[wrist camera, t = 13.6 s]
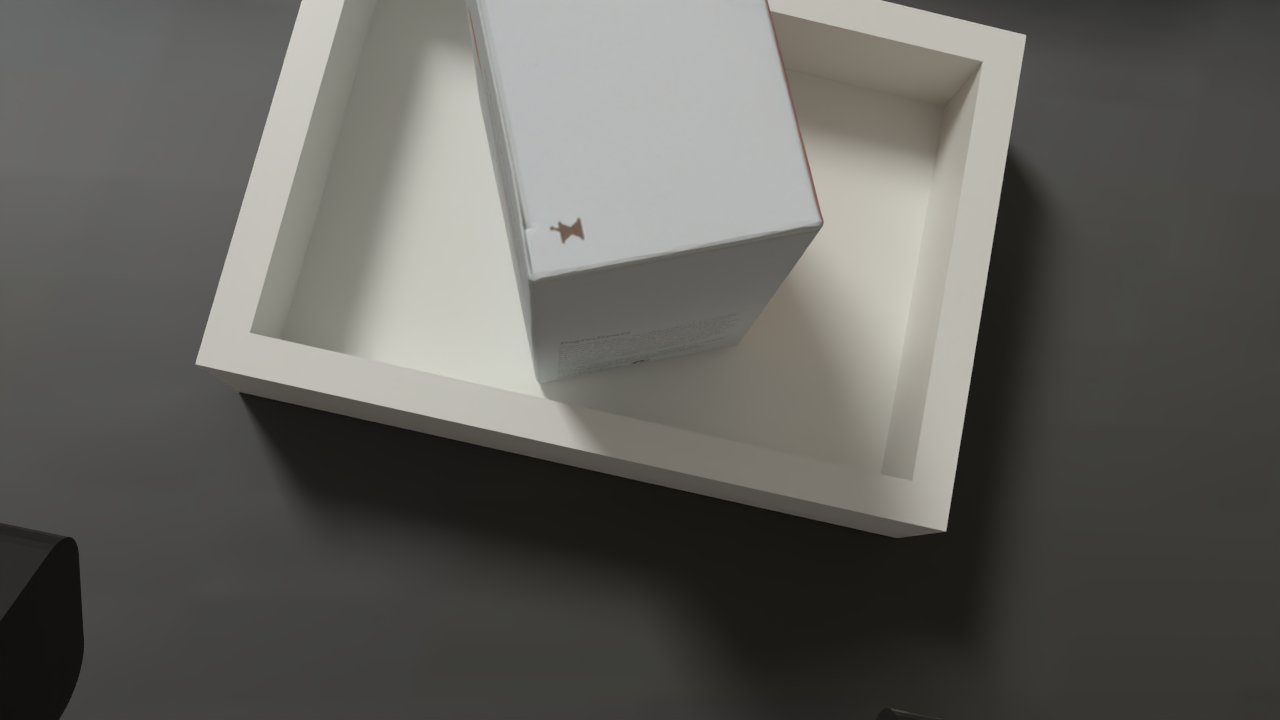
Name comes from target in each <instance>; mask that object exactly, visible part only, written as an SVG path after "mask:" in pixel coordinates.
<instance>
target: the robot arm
mask: <svg viewBox="0 0 1280 720" xmlns="http://www.w3.org/2000/svg"><path fill="white" fill-rule="evenodd" d="M83 652H84V635H83V619H82V602H81V585H80V568H79V553H78V547H77V544H76V542H75V540H74V539H73V538H71V537H66V536H61V535H56V534H51V533H47V532H42V531H37V530H32V529H27V528H22V527H17V526H12V525H8V524H3V523H0V720H59V719H60V717H61V715H62V714H63V712H64V710H65V708H66V707H67V705H68V703H69V700H70V698H71V696H72V694H73V691H74V689H75V686H76V683H77V680H78V677H79V673H80V669H81V665H82V659H83ZM876 720H946V719H941V718H936V717H931V716H926V715H921V714H916V713H911V712H906V711H902V710H897V709H892V708H885V709H883V710H882V711H881V712H880V714H879V715H878V717H877V719H876Z"/></svg>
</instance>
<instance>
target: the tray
mask: <svg viewBox="0 0 1280 720" xmlns="http://www.w3.org/2000/svg"><path fill="white" fill-rule="evenodd" d="M768 4H769V8H770V12H771V16H772V20H773V24H774V28H775V32H776V36H777V40H778V44H779V48H780V52H781V56H782V60H783V64H784V68H785V72H786V75H787V79H788V84H789V88H790V92H791V96H792V100H793V104H794V108H795V111H796V115H797V120H798V124H799V128H800V132H801V135H802V139H803V143H804V147H805V151H806V155H807V158H808V162H809V166H810V170H811V174H812V178H813V182H814V186H815V190H816V194H817V198H818V202H819V207H820V211H821V214H822V217H823V221H824V224H823V227H822V228H821V229H820V231H819V232H818V234H817V235H816V236H815V238H814V239H813V241H812V242H811V244H810V245H809V246H808V248H807V249H806V250H805V252H804V254H803V255H802V256H801V258H800V259H799V261H798V262H797V263H796V265H795V266H794V268H793V269H792V270H791V272H790V273H789V275H788V276H787V277H786V279H785V280H784V281H783V283H782V284H781V286H780V287H779V288H778V290H777V291H776V293H775V294H774V296H773V297H772V298H771V300H770V301H769V302H768V304H767V305H766V306H765V308H764V309H763V311H762V313H761V314H760V315H759V317H758V318H757V319H756V320H755V322H754V323H753V325H752V326H751V328H750V329H749V330H748V332H747V333H746V334H745V336H744V337H743V338H742V340H741V341H740V343H739V344H737V345H735V346H730V347H724V348H719V349H714V350H709V351H704V352H699V353H694V354H689V355H684V356H679V357H674V358H669V359H663V360H658V361H653V362H648V363H642V364H637V365H632V366H626V367H621V368H616V369H611V370H606V371H601V372H595V373H590V374H585V375H580V376H574V377H569V378H564V379H559V380H554V381H549V382H545V383H538V382H537V380H536V377H535V373H534V368H533V363H532V358H531V353H530V348H529V343H528V338H527V333H526V328H525V323H524V318H523V314H522V309H521V304H520V299H519V294H518V289H517V284H516V279H515V274H514V269H513V263H512V258H511V253H510V248H509V243H508V238H507V233H506V228H505V223H504V218H503V213H502V208H501V204H500V199H499V194H498V189H497V184H496V179H495V174H494V170H493V165H492V160H491V155H490V150H489V144H488V139H487V135H486V130H485V125H484V120H483V116H482V111H481V106H480V100H479V93H478V86H477V79H476V72H475V64H474V56H473V49H472V42H471V35H470V28H469V21H468V15H467V8H466V1H465V0H302V2H301V6H300V9H299V13H298V16H297V19H296V23H295V26H294V30H293V33H292V36H291V40H290V43H289V47H288V50H287V53H286V57H285V60H284V64H283V67H282V70H281V74H280V77H279V81H278V84H277V88H276V91H275V94H274V98H273V101H272V105H271V108H270V111H269V115H268V118H267V122H266V125H265V128H264V132H263V135H262V139H261V142H260V145H259V149H258V152H257V156H256V159H255V163H254V166H253V169H252V173H251V176H250V180H249V183H248V186H247V190H246V193H245V197H244V200H243V203H242V207H241V210H240V214H239V217H238V220H237V224H236V227H235V231H234V234H233V237H232V241H231V244H230V248H229V251H228V255H227V258H226V261H225V265H224V268H223V272H222V275H221V278H220V282H219V285H218V289H217V292H216V295H215V299H214V302H213V306H212V309H211V312H210V316H209V319H208V323H207V326H206V330H205V333H204V336H203V340H202V343H201V347H200V350H199V353H198V357H197V360H196V365H197V366H199V367H200V368H202V369H203V370H205V371H207V372H208V373H210V374H211V375H213V376H214V377H216V378H217V379H219V380H221V381H222V382H224V383H225V384H227V385H228V386H230V387H231V388H233V389H235V390H236V391H238V392H242V393H247V394H251V395H256V396H260V397H265V398H269V399H274V400H278V401H283V402H287V403H292V404H296V405H301V406H305V407H310V408H314V409H319V410H323V411H328V412H332V413H336V414H341V415H345V416H350V417H354V418H359V419H363V420H368V421H372V422H377V423H381V424H386V425H390V426H395V427H399V428H404V429H408V430H413V431H417V432H422V433H426V434H431V435H435V436H440V437H444V438H449V439H453V440H458V441H462V442H467V443H471V444H476V445H480V446H485V447H489V448H494V449H498V450H503V451H507V452H512V453H516V454H521V455H525V456H530V457H534V458H539V459H543V460H548V461H552V462H557V463H561V464H566V465H570V466H575V467H579V468H584V469H588V470H593V471H597V472H602V473H606V474H611V475H615V476H620V477H624V478H629V479H633V480H638V481H642V482H647V483H651V484H656V485H660V486H665V487H669V488H674V489H678V490H683V491H687V492H692V493H696V494H701V495H705V496H710V497H714V498H719V499H723V500H728V501H732V502H737V503H741V504H746V505H750V506H755V507H759V508H764V509H768V510H773V511H777V512H782V513H786V514H791V515H795V516H800V517H804V518H809V519H813V520H818V521H822V522H827V523H831V524H836V525H840V526H845V527H849V528H854V529H858V530H863V531H867V532H872V533H876V534H881V535H885V536H890V537H894V538H902V537H910V536H917V535H924V534H932V533H939V532H946V529H947V523H948V517H949V510H950V504H951V498H952V492H953V486H954V479H955V473H956V467H957V461H958V455H959V448H960V442H961V436H962V430H963V424H964V417H965V411H966V405H967V399H968V393H969V386H970V380H971V374H972V368H973V362H974V356H975V349H976V343H977V337H978V331H979V325H980V318H981V312H982V306H983V300H984V294H985V287H986V281H987V275H988V269H989V263H990V256H991V250H992V244H993V238H994V232H995V225H996V219H997V213H998V207H999V201H1000V194H1001V188H1002V182H1003V176H1004V170H1005V164H1006V157H1007V151H1008V145H1009V139H1010V133H1011V126H1012V120H1013V114H1014V108H1015V102H1016V95H1017V89H1018V83H1019V77H1020V71H1021V64H1022V58H1023V52H1024V46H1025V40H1026V35H1023V34H1019V33H1015V32H1011V31H1006V30H1002V29H998V28H994V27H990V26H986V25H981V24H977V23H973V22H969V21H965V20H961V19H956V18H952V17H948V16H944V15H940V14H936V13H931V12H927V11H923V10H919V9H915V8H911V7H906V6H902V5H898V4H894V3H890V2H886V1H881V0H768Z"/></svg>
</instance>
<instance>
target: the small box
mask: <svg viewBox="0 0 1280 720" xmlns="http://www.w3.org/2000/svg"><path fill="white" fill-rule="evenodd" d="M465 1H466V8H467V15H468V21H469V28H470V35H471V42H472V49H473V56H474V64H475V72H476V79H477V86H478V93H479V100H480V106H481V111H482V116H483V120H484V125H485V130H486V135H487V139H488V144H489V150H490V155H491V160H492V165H493V170H494V174H495V179H496V184H497V189H498V194H499V199H500V204H501V208H502V213H503V218H504V223H505V228H506V233H507V238H508V243H509V248H510V253H511V258H512V263H513V269H514V274H515V279H516V284H517V289H518V294H519V299H520V304H521V309H522V314H523V318H524V323H525V328H526V333H527V338H528V343H529V348H530V353H531V358H532V363H533V368H534V373H535V377H536V380H537V382H538V383H545V382H549V381H554V380H559V379H564V378H569V377H574V376H580V375H585V374H590V373H595V372H601V371H606V370H611V369H616V368H621V367H626V366H632V365H637V364H642V363H648V362H653V361H658V360H663V359H669V358H674V357H679V356H684V355H689V354H694V353H699V352H704V351H709V350H714V349H719V348H724V347H730V346H735V345H737V344H739V343H740V341H741V340H742V338H743V337H744V336H745V334H746V333H747V332H748V330H749V329H750V328H751V326H752V325H753V323H754V322H755V320H756V319H757V318H758V317H759V315H760V314H761V313H762V311H763V309H764V308H765V306H766V305H767V304H768V302H769V301H770V300H771V298H772V297H773V296H774V294H775V293H776V291H777V290H778V288H779V287H780V286H781V284H782V283H783V281H784V280H785V279H786V277H787V276H788V275H789V273H790V272H791V270H792V269H793V268H794V266H795V265H796V263H797V262H798V261H799V259H800V258H801V256H802V255H803V254H804V252H805V250H806V249H807V248H808V246H809V245H810V244H811V242H812V241H813V239H814V238H815V236H816V235H817V234H818V232H819V231H820V229H821V228H822V227H823V224H824V221H823V217H822V214H821V211H820V207H819V202H818V198H817V194H816V190H815V186H814V182H813V178H812V174H811V170H810V166H809V162H808V158H807V155H806V151H805V147H804V143H803V139H802V135H801V132H800V128H799V124H798V120H797V115H796V111H795V108H794V104H793V100H792V96H791V92H790V88H789V84H788V79H787V75H786V72H785V68H784V64H783V60H782V56H781V52H780V48H779V44H778V40H777V36H776V32H775V28H774V24H773V20H772V16H771V12H770V8H769V4H768V0H465Z"/></svg>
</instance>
